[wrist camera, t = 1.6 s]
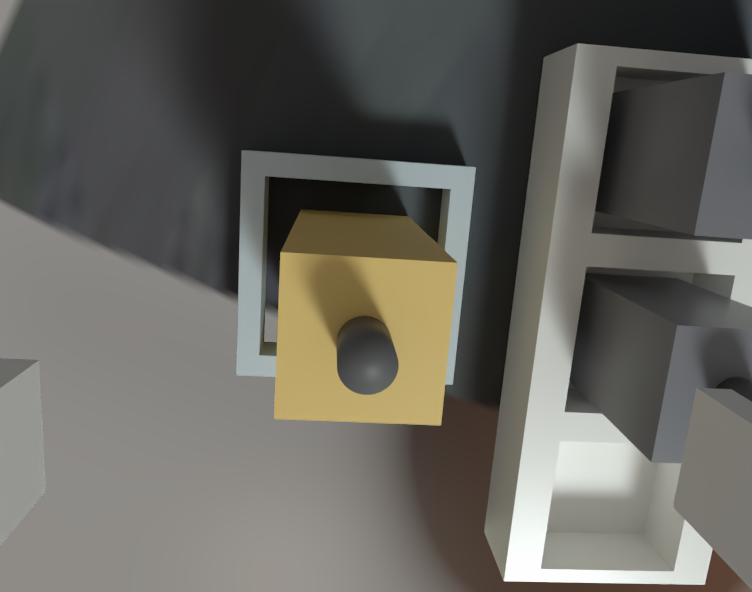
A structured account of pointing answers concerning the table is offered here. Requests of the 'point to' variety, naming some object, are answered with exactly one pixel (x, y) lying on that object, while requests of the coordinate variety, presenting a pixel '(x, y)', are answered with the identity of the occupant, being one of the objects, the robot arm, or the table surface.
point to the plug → (362, 320)
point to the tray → (262, 164)
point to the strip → (541, 411)
